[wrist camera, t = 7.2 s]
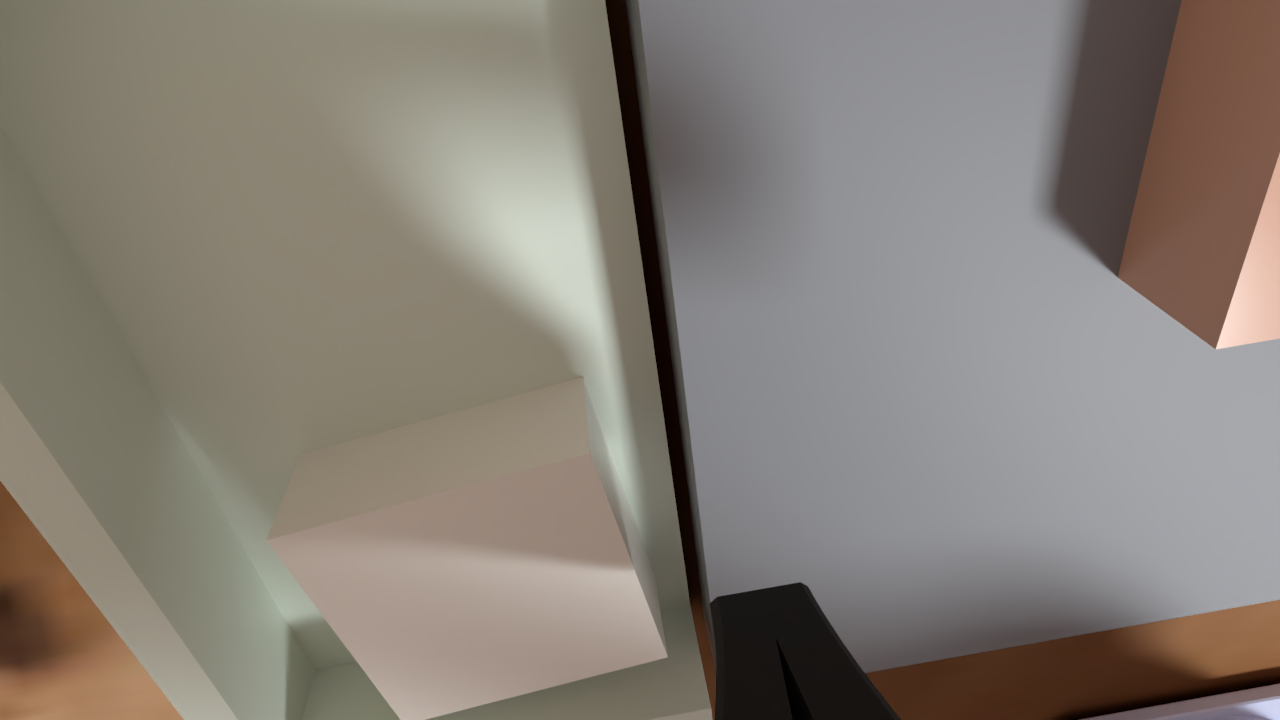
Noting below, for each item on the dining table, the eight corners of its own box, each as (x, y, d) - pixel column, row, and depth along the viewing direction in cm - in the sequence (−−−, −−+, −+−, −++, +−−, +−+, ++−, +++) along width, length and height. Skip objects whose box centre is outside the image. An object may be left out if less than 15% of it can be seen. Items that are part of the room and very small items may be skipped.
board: (1264, 520, 18) (1339, 589, 16) (704, 619, 18) (722, 698, 16) (1635, -344, 10) (1860, -383, 8) (601, -186, 10) (614, -194, 8)
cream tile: (654, 572, 16) (667, 657, 14) (418, 634, 16) (404, 725, 14) (583, 376, 13) (589, 452, 12) (300, 454, 13) (266, 540, 12)
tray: (689, 606, 17) (714, 732, 15) (297, 675, 17) (257, 814, 15) (569, -233, 9) (581, -265, 7) (-179, -119, 9) (-453, -109, 7)
